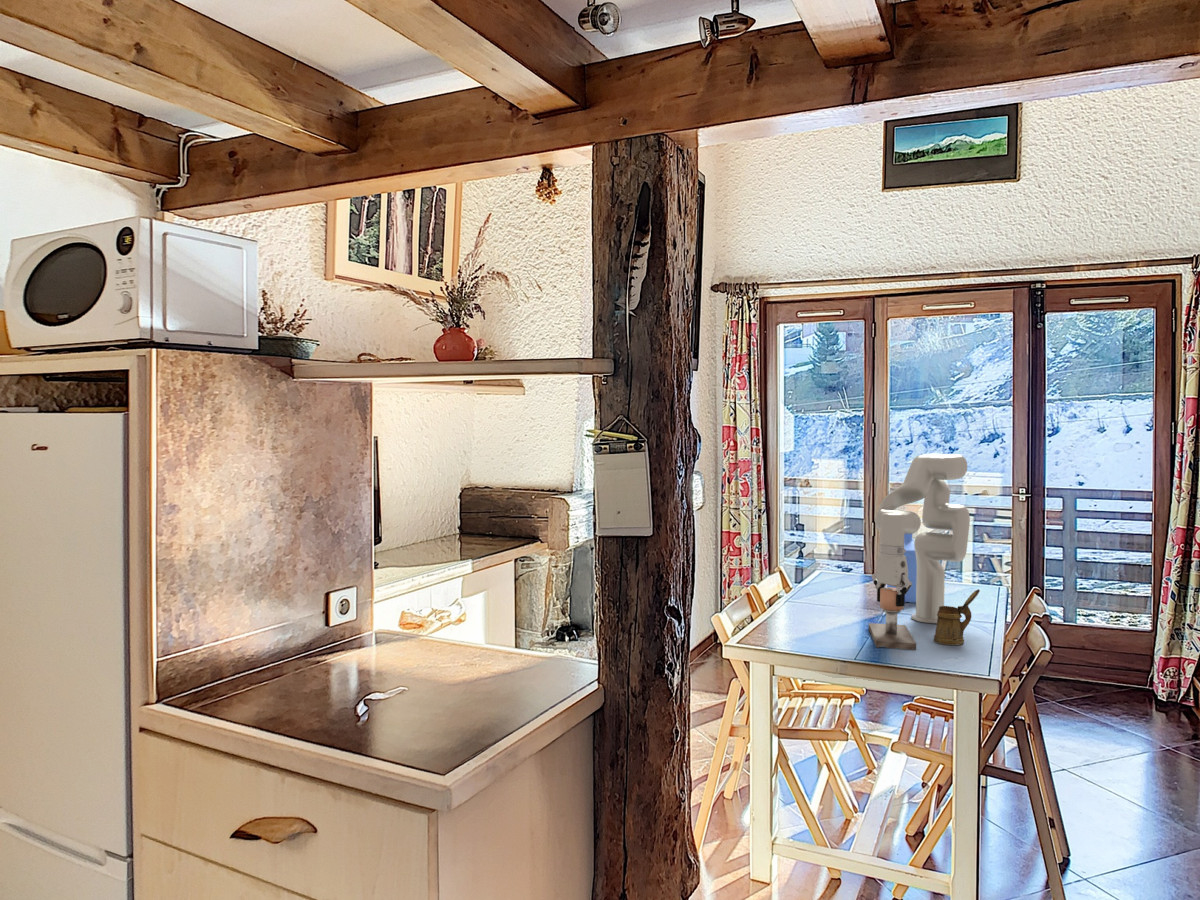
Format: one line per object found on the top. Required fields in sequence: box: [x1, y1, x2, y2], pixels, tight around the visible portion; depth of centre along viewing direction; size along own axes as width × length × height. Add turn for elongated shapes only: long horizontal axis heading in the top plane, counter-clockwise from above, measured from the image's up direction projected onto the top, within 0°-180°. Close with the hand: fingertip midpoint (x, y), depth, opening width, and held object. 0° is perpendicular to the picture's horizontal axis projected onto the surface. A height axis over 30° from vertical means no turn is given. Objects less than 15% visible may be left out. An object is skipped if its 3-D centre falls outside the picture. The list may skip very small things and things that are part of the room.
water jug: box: [886, 534, 917, 604], centre depth 337 cm, size 16×16×28 cm
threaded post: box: [882, 609, 902, 634], centre depth 276 cm, size 6×6×8 cm
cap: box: [879, 587, 905, 611], centre depth 276 cm, size 7×7×6 cm
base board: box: [868, 622, 917, 651], centre depth 276 cm, size 12×24×2 cm, turn 168°
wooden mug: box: [933, 589, 981, 646], centre depth 271 cm, size 9×14×18 cm, turn 69°
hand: (890, 603), depth 275 cm, fingers open, 7 cm apart
